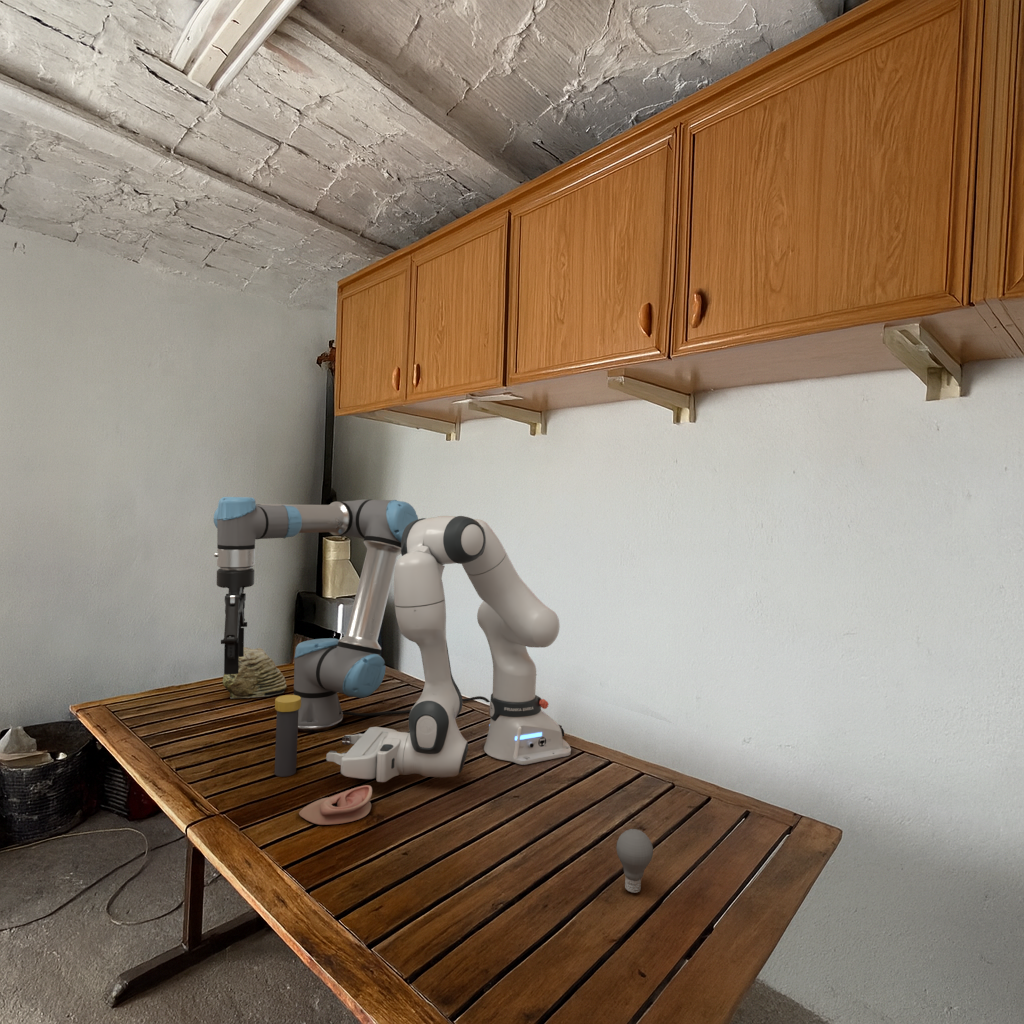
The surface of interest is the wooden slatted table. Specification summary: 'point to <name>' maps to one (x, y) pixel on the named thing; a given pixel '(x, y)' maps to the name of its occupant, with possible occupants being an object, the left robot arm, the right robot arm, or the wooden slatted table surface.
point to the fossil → (255, 676)
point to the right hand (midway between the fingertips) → (335, 747)
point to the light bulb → (634, 857)
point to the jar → (286, 743)
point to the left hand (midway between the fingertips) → (234, 664)
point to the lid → (287, 703)
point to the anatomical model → (339, 807)
